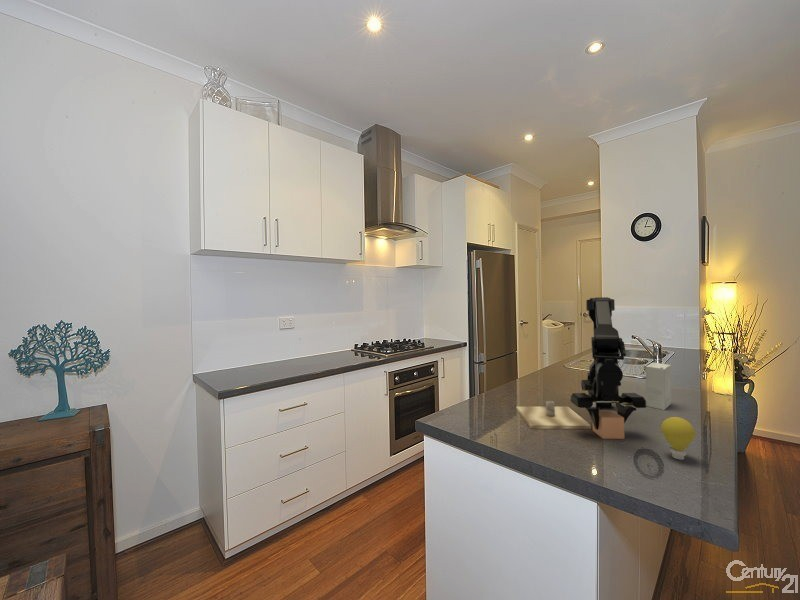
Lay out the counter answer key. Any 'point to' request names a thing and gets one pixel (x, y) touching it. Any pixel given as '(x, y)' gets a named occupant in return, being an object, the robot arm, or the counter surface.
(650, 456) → the counter surface
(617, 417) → the tan cardboard-like cube
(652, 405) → the skincare box
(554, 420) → the post base
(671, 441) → the light bulb
